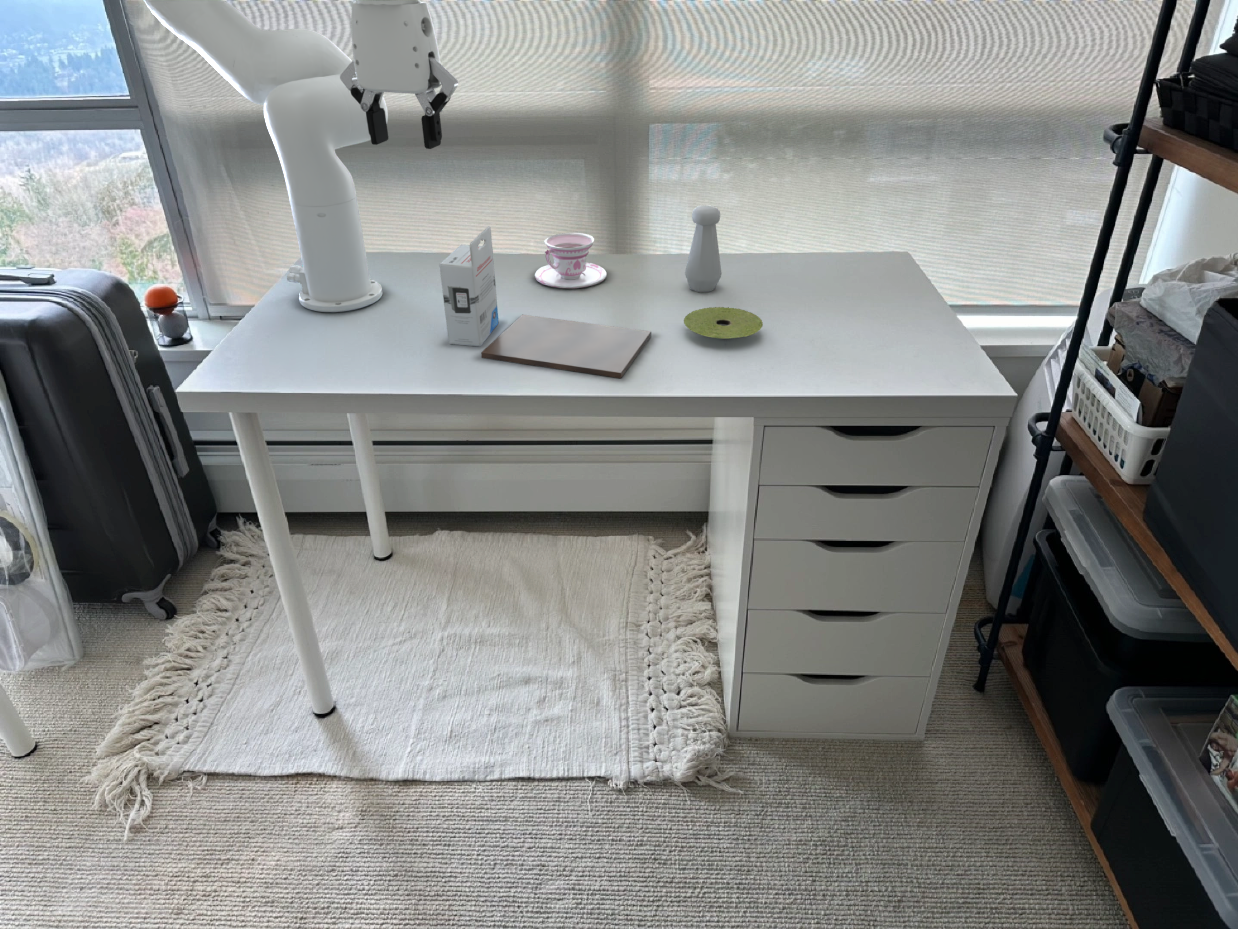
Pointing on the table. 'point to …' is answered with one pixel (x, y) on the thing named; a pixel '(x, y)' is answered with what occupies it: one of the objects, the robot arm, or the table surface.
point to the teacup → (569, 262)
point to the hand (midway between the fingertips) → (406, 143)
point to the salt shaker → (704, 250)
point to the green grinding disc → (723, 322)
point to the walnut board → (568, 345)
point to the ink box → (470, 292)
